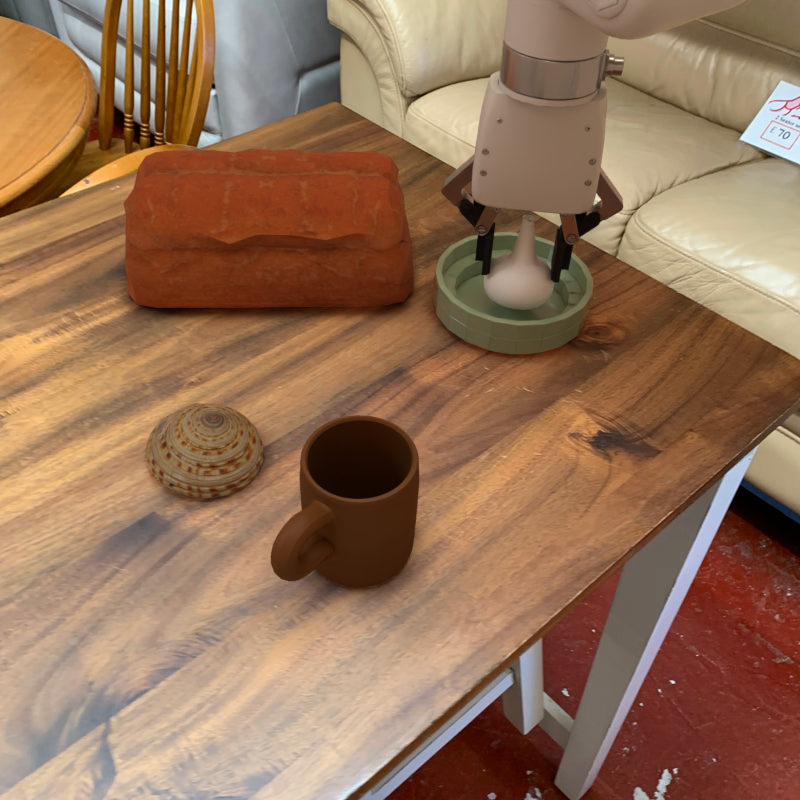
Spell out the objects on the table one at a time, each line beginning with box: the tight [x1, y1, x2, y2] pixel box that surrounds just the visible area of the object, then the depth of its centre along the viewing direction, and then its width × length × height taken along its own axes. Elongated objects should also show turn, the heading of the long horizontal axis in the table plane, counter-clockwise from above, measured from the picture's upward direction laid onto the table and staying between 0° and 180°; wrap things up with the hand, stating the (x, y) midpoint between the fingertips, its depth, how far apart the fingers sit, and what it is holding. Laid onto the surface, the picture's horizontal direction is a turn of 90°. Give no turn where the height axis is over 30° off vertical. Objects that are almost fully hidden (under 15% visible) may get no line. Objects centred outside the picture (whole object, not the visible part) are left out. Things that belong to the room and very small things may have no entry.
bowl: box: [432, 231, 594, 355], centre depth 76 cm, size 14×14×4 cm
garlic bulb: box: [484, 214, 554, 310], centre depth 73 cm, size 6×6×8 cm
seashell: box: [145, 402, 265, 499], centre depth 62 cm, size 8×6×8 cm
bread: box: [123, 148, 415, 309], centre depth 77 cm, size 16×27×11 cm, turn 94°
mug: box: [270, 414, 420, 589], centre depth 53 cm, size 12×8×9 cm, turn 146°
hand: (520, 268), depth 74 cm, fingers closed on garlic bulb, 5 cm apart
